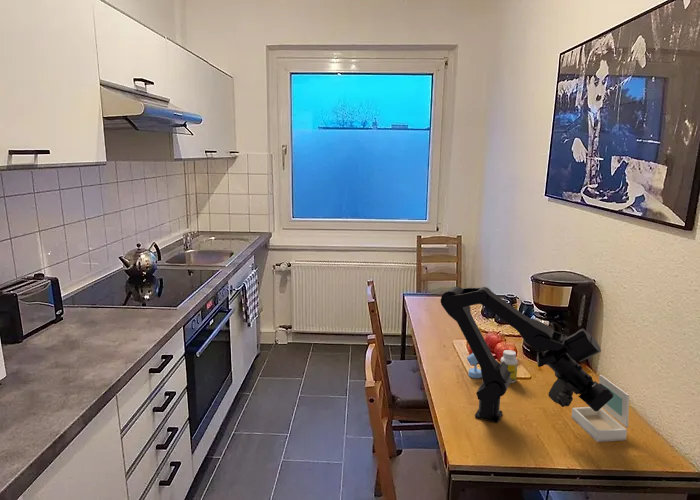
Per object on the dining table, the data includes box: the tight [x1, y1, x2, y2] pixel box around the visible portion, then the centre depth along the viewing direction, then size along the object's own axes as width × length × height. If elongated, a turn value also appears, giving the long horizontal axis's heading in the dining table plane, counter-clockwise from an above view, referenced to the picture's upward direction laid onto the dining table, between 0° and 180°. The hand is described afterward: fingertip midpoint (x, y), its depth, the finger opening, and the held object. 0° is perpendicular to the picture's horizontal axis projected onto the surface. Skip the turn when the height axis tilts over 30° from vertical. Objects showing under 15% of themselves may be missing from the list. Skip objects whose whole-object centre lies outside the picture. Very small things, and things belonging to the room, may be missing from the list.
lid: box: [598, 374, 630, 429], centre depth 128 cm, size 9×12×1 cm
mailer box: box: [571, 406, 628, 443], centre depth 129 cm, size 8×12×3 cm, turn 5°
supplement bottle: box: [499, 349, 519, 384], centre depth 157 cm, size 5×5×10 cm
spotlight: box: [466, 352, 482, 379], centre depth 160 cm, size 5×10×7 cm
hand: (600, 403), depth 127 cm, fingers closed
